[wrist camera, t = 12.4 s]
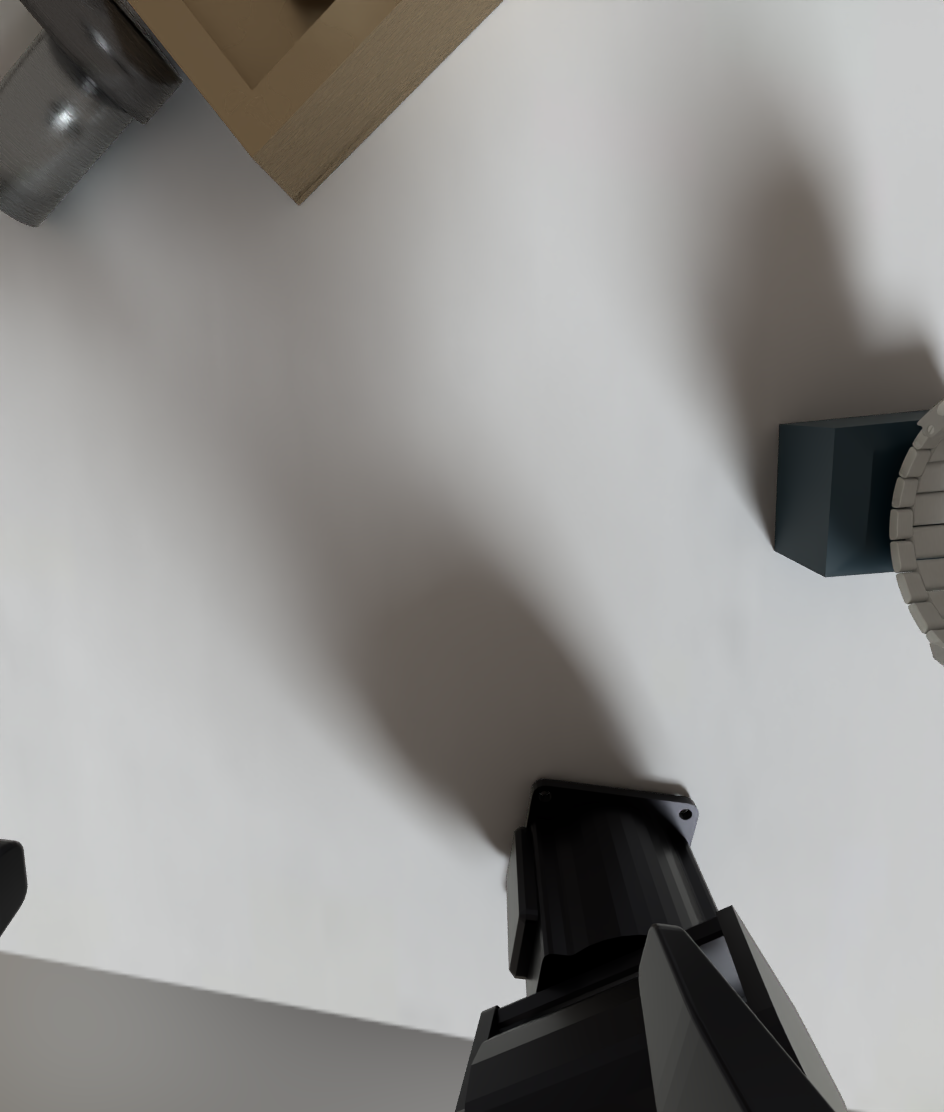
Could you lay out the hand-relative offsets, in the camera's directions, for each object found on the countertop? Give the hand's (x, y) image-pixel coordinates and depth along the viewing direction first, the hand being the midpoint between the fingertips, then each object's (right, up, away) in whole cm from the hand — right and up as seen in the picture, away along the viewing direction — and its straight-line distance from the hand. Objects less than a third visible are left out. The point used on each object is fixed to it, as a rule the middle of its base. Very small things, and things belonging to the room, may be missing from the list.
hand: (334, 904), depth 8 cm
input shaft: (-10, +18, +9) cm, 22 cm away
